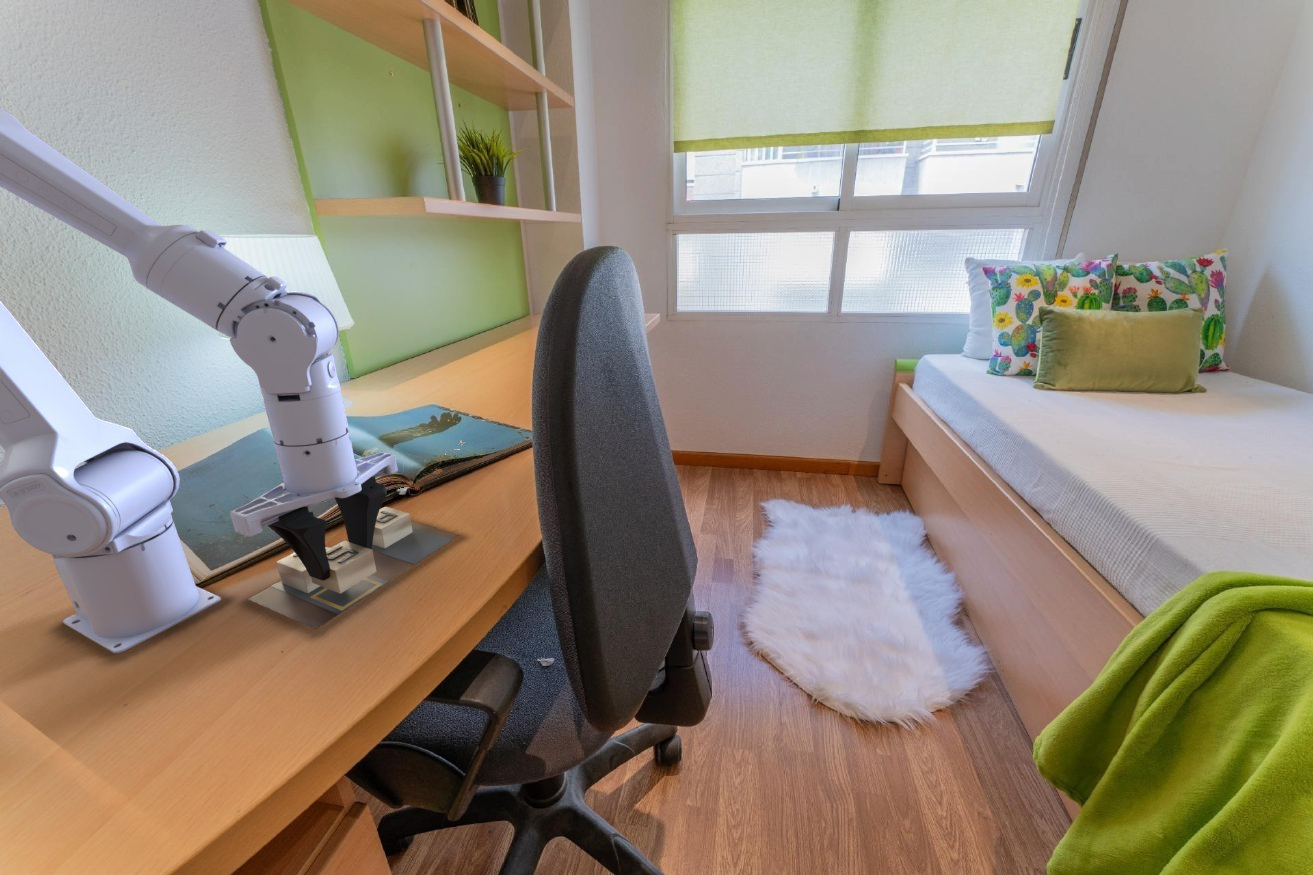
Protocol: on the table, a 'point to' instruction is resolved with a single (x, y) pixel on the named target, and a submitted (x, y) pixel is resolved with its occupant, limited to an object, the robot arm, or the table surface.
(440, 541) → the letter board
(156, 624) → the robot arm
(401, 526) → the tile
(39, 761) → the table surface
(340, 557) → the tile
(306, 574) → the tile
